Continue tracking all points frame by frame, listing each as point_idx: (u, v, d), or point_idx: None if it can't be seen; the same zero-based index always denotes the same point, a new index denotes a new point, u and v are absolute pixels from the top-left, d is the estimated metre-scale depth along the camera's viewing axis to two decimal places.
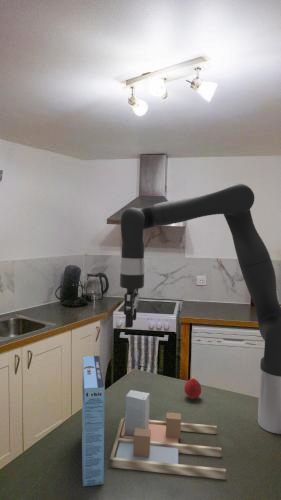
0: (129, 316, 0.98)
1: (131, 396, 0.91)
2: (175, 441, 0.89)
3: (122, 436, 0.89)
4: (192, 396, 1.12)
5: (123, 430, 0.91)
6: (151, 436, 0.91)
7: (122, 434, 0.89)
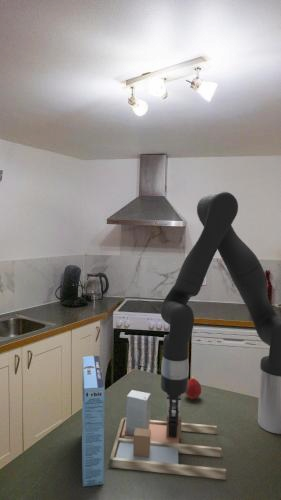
0: (173, 426, 0.89)
1: (132, 396, 0.91)
2: (176, 441, 0.89)
3: (123, 436, 0.89)
4: (192, 396, 1.12)
5: (124, 430, 0.91)
6: (152, 436, 0.91)
7: (123, 434, 0.89)
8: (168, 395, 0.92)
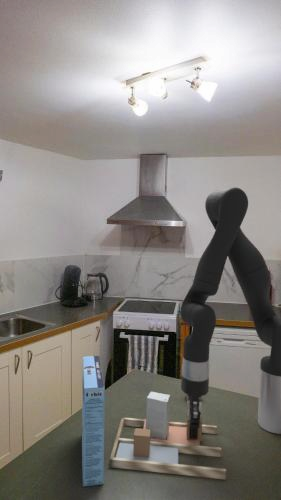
0: (194, 428, 0.88)
1: (152, 398, 0.90)
2: (196, 443, 0.88)
3: None
4: None
5: None
6: (172, 438, 0.90)
7: None
8: (188, 397, 0.92)
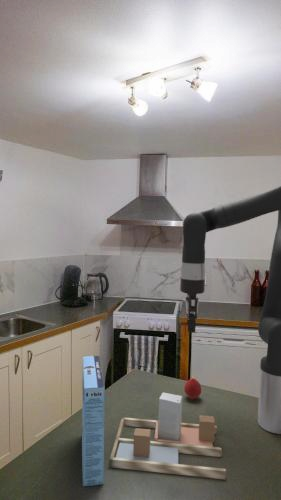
0: (192, 321, 0.98)
1: (164, 399, 0.90)
2: (209, 444, 0.88)
3: (156, 439, 0.88)
4: (192, 396, 1.12)
5: (156, 433, 0.90)
6: (184, 439, 0.90)
7: (156, 437, 0.88)
8: None
